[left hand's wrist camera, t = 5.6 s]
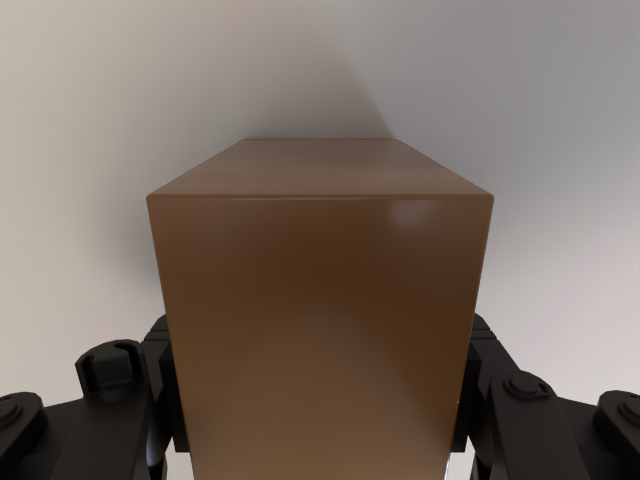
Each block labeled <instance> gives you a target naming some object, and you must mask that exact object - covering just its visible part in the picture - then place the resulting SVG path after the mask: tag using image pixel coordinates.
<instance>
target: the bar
mask: <svg viewBox="0 0 640 480" xmlns="http://www.w3.org/2000/svg"><path fill="white" fill-rule="evenodd" d="M146 200H147V206H148V212H149V218H150V224H151V230H152V235H153V241H154V247H155V253H156V259H157V265H158V270H159V276H160V282H161V288H162V294H163V300H164V305H165V311H166V317H167V323H168V329H169V335H170V340H171V346H172V352H173V358H174V364H175V370H176V375H177V381H178V387H179V393H180V399H181V405H182V410H183V416H184V422H185V428H186V434H187V440H188V445H189V451H190V457H191V463H192V469H193V475H194V480H446V476H447V470H448V465H449V459H450V453H451V447H452V441H453V436H454V430H455V424H456V418H457V412H458V406H459V401H460V395H461V389H462V383H463V377H464V371H465V366H466V360H467V354H468V348H469V342H470V337H471V331H472V325H473V319H474V313H475V307H476V302H477V296H478V290H479V284H480V278H481V272H482V267H483V261H484V255H485V249H486V243H487V238H488V232H489V226H490V220H491V214H492V208H493V203H494V196H493V195H492V194H490V193H488V192H487V191H485V190H483V189H481V188H480V187H478V186H476V185H475V184H473V183H471V182H469V181H468V180H466V179H464V178H463V177H461V176H459V175H457V174H456V173H454V172H452V171H451V170H449V169H447V168H445V167H444V166H442V165H440V164H439V163H437V162H435V161H433V160H432V159H430V158H428V157H426V156H425V155H423V154H421V153H420V152H418V151H416V150H414V149H413V148H411V147H409V146H408V145H406V144H404V143H402V142H401V141H399V140H397V139H243V140H241V141H239V142H238V143H236V144H234V145H233V146H231V147H229V148H227V149H226V150H224V151H222V152H221V153H219V154H217V155H215V156H214V157H212V158H210V159H209V160H207V161H205V162H203V163H202V164H200V165H198V166H197V167H195V168H193V169H191V170H190V171H188V172H186V173H185V174H183V175H181V176H179V177H178V178H176V179H174V180H173V181H171V182H169V183H167V184H166V185H164V186H162V187H161V188H159V189H157V190H155V191H154V192H152V193H150V194H149V195H147V198H146Z"/></svg>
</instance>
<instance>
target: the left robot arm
mask: <svg viewBox="0 0 640 480" xmlns="http://www.w3.org/2000/svg"><path fill="white" fill-rule="evenodd" d="M75 367H76V370H77V374H78V377H79V381H80V384H81V388H82V391H83V395H84V396H83V398H81V399H78V400H74V401H70V402H66V403H61V404H57V405H52V406H48V407H44V405H43V403H42V400H41V397H39V396H38V395H37V394H36V393H31V392H19V393H13V394H9V395H6V396H3V397H0V480H166V478H167V461H166V456H165V452H166V449H167V447H168V445H169V443H170V440H171V438H172V436H173V441H174V447H175V452H190V451H189V445H188V440H187V434H186V428H185V422H184V416H183V410H182V405H181V399H180V393H179V387H178V381H177V375H176V370H175V364H174V358H173V352H172V346H171V340H170V335H169V329H168V323H167V317H166V314H164V315H163V316H162V317H160V318H159V319H158V320H157V321H156V323H155V324H154V325H153V327H152V328H151V329H150V332H148V334H147V335H146V336H145V338H144V341H142V342H141V343H139V342H138V341H134V340H129V339H124V340H114V341H110V342H106V343H103V344H101V345H98V346H96V347H94V348H92V349H90V350H89V351H87V352H86V353H84V354H83V355H82V356H81V357H80V358H79V359H78V360H77V362H76V363H75ZM468 436H469V438H470V440H471V442H472V445H473V447H474V449H475V456H474V460H473V465H472V470H471V475H470V480H640V395H637V394H634V393H631V392H625V391H619V390H614V391H606V392H605V393H603V394H602V395H601V396H600V398H599V401H598V403H597V406H595V405H590V404H586V403H581V402H577V401H573V400H568V399H564V398H561V397H558V396H557V395H556V394H555V392H554V391H553V389H552V388H551V386H550V385H548V384H547V383H546V382H545V381H543V380H542V379H541V378H539V377H537V376H535V375H533V374H531V373H529V372H526V371H522V370H520V369H519V368H518V366H517V365H516V363H515V362H514V361H513V359H512V358H511V357H510V355H509V354H508V352H507V351H506V350H505V348H504V347H503V346H502V344H501V343H500V341H499V340H497V337H496V336H495V334H494V333H493V332H492V331H490V328H489V326H488V325H487V323H486V322H485V321H484V319H483V318H482V317H481V316H479V315H478V314H476V313H474V319H473V325H472V331H471V337H470V342H469V348H468V354H467V360H466V366H465V371H464V377H463V383H462V389H461V395H460V401H459V406H458V412H457V418H456V424H455V430H454V436H453V441H452V447H451V452H465V448H466V443H467V437H468Z"/></svg>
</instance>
